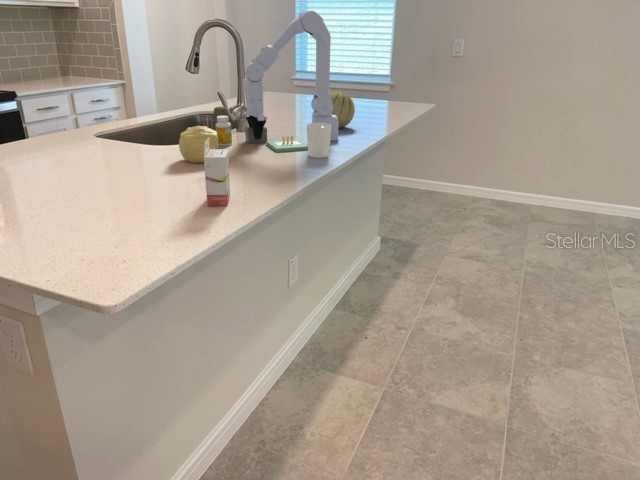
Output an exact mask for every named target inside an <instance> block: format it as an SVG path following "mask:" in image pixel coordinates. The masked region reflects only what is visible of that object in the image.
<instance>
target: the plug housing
mask: <svg viewBox="0 0 640 480" xmlns="http://www.w3.org/2000/svg"><path fill="white" fill-rule="evenodd" d="M244 130H245V131H244V133H245V134H244V135H245V142H246V143H247V144H259V143H266V141H268V127H266V126H264V127H263V132H262V137H261V139H255V137H254V132H253V127H249V126H246V127H244Z"/></svg>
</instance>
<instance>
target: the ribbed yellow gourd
mask: <svg viewBox="0 0 640 480" xmlns="http://www.w3.org/2000/svg"><path fill="white" fill-rule="evenodd" d="M330 93H331V101H332V103H333V111H332V112H331V114H332V115H336V116H337V118H338V123H339V125H338V129H341V127H342V128H345V127H346V126H348V125H349V124H350V123H351V122H352V121H353V118H354V115H355V113H356V109H355V108H356V107H355V103H354V100H353V99H352V97H350V96H349V95H348V94H346V93H344V90H342V89H340V91H332V92H331V91H330Z"/></svg>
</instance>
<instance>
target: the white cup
mask: <svg viewBox="0 0 640 480" xmlns="http://www.w3.org/2000/svg"><path fill="white" fill-rule="evenodd" d="M330 137H331V125H330V124H327V123H312V122H310V123H307V124H306V139H307V140H306V141H307V142H306V143H307V145H308V150H307V153H308V154H307V155H308V157H310V158H315V159H322V158H324V159H325V158H327V157H329V155H330V147H331V141H330Z"/></svg>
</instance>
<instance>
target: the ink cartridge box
mask: <svg viewBox="0 0 640 480" xmlns="http://www.w3.org/2000/svg"><path fill="white" fill-rule="evenodd" d="M206 146H207V148H206ZM229 158H230V157H229V149H228V148H225V149H224V148H223V149H222V148H221V149H220V148H218V149H210V150H209V138H208V139H207V140H206V142H205V143H204V163H203V165H204V177H205V178H204V179H205V190H206V192H205V193H206V201H207V202H206V203H207V207H228V205H229V200H230V197H231V187H230V186H231V185H230V184H231V183H230V162H229ZM209 205H210V206H209Z"/></svg>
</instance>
